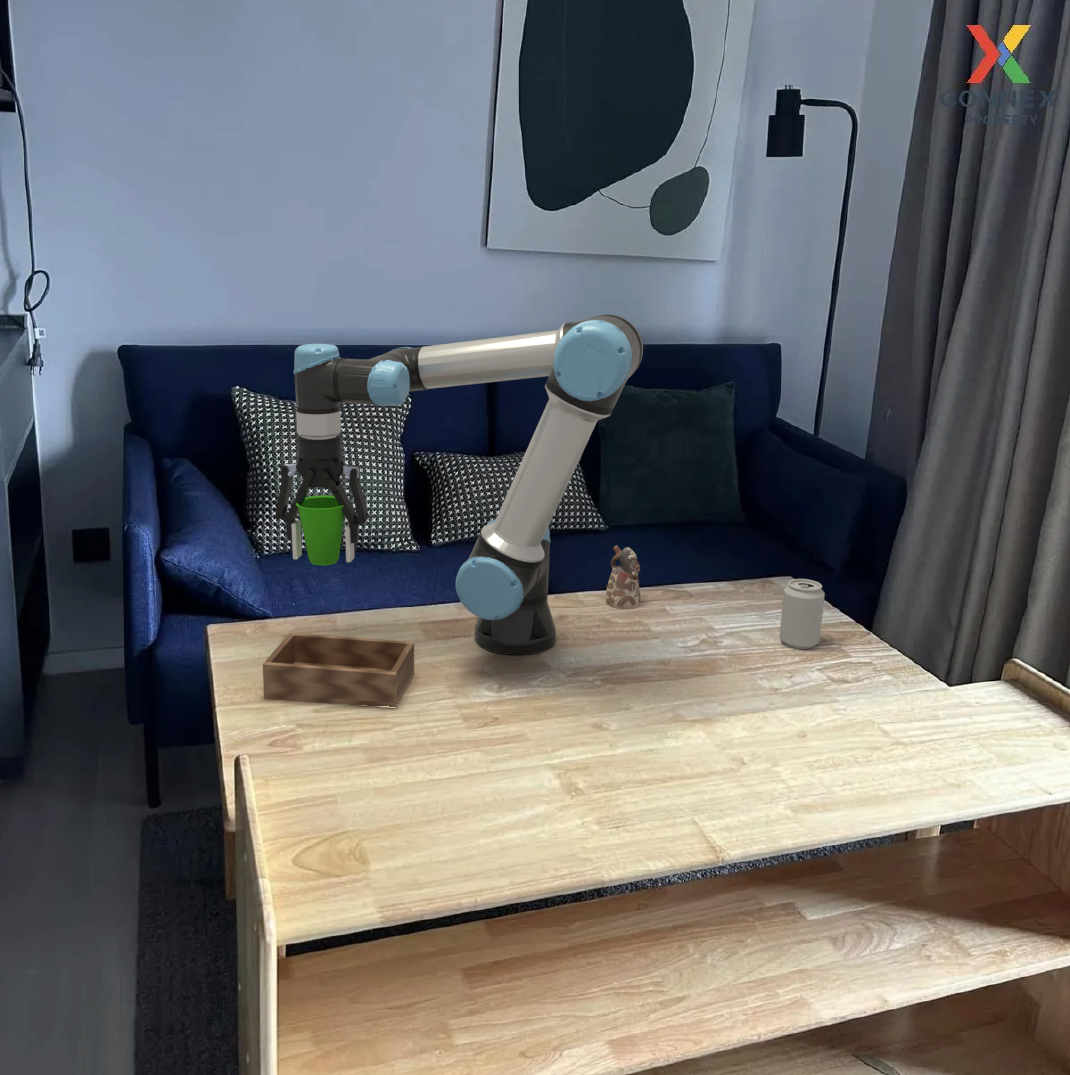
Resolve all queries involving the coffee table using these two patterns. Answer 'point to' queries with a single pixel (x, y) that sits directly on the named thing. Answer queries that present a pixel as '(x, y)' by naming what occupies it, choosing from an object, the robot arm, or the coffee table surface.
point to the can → (802, 613)
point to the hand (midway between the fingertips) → (323, 558)
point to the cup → (322, 528)
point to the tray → (339, 670)
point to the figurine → (624, 580)
